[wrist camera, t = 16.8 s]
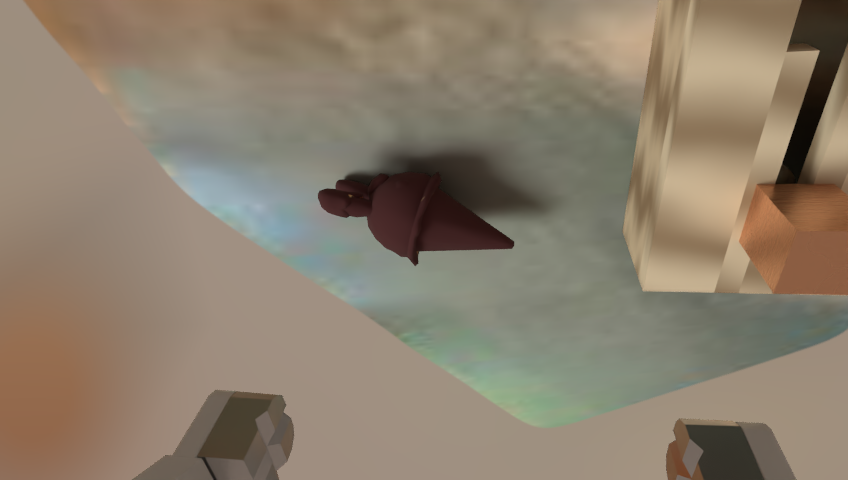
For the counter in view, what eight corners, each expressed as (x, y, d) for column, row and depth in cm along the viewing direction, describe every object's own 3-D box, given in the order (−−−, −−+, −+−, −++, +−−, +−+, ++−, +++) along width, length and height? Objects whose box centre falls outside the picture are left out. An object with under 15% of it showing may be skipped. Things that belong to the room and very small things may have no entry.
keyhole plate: (681, -141, 27) (731, -152, 21) (982, -173, 25) (1135, -197, 19) (622, 231, 41) (642, 291, 34) (816, 231, 38) (875, 296, 32)
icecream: (531, 212, 34) (320, 149, 35) (497, 307, 36) (301, 246, 37) (528, 189, 40) (350, 136, 41) (500, 271, 43) (333, 220, 44)
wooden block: (731, 155, 32) (797, 231, 25) (800, 153, 32) (888, 231, 24) (716, 208, 35) (773, 293, 27) (781, 208, 34) (856, 295, 27)
